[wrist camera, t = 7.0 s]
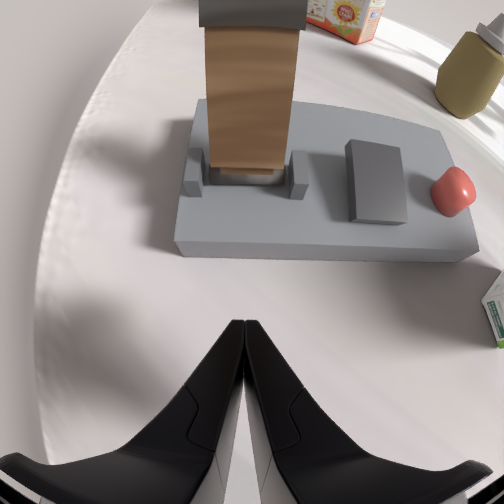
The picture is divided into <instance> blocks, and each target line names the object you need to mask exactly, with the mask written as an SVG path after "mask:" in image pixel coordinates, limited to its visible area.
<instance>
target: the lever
mask: <svg viewBox="0 0 504 504" xmlns="http://www.w3.org/2000/svg"><path fill="white" fill-rule="evenodd" d="M307 6H308V0H199V27H205V69H206V95H207V116H208V135H209V151H210V164H209V172H208V178H209V183H211V184H262V185H284V184H285V175H286V171H285V166H284V163H285V155H286V147H287V139H288V131H289V123H290V115H291V106H292V98H293V89H294V80H295V71H296V61H297V52H298V42H299V32H300V30H305V27H306V17H307Z"/></svg>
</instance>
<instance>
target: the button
mask: <svg viewBox="0 0 504 504" xmlns="http://www.w3.org/2000/svg"><path fill="white" fill-rule="evenodd" d="M430 194H431V198H432V201H433V203H434V205H435V206H436V208H437V209H438V210H439V211H440V212H441V213H442V214H443V215H445V216H447V217H454V216H456V215H457V214H458V213H460V212H461V211H462V210H464V209H465V208H466V207H468V206H469V205H470V204H472V203H473V202H474V201H475V199H476V191H475V187H474V185H473V183H472V181H471V179H470V178H469V177H468V175H467V174H466V173H465V172H464V171H463V170H461V169H460V168H458V167H454V166H452V167H450V168H449V169H448V170H447V171H446V172H445V173H444V174H443V175H442V176H441V177H440V178H439V179H438V180H437V181H436V182H435V183H434V184H433V185H432V186H431V190H430Z"/></svg>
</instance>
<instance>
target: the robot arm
mask: <svg viewBox="0 0 504 504" xmlns="http://www.w3.org/2000/svg"><path fill="white" fill-rule="evenodd" d="M243 380H244V389H245V396H246V404H247V411H248V419H249V426H250V433H251V440H252V447H253V454H254V460H255V467H256V473H257V480H258V486H259V492H260V499H261V504H504V474H503V475H502V476H501V477H499V478H498V479H496V480H495V481H494V482H492V483H491V484H489V485H488V486H486V487H485V488H483V489H482V490H480V491H479V492H477V493H476V494H474V495H473V496H471V497H469V498H468V499H467V497H466V493H465V491H466V490H468V489H469V488H471V487H472V486H474V485H476V484H477V483H479V482H480V481H482V480H483V479H485V478H486V477H488V476H489V475H490V474H492V473H493V471H492V470H491V469H490V468H489V467H488V466H487V465H485V464H483V463H480V462H477V461H474V460H468V461H465V462H463V463H461V464H459V465H458V466H456V467H454V468H451V469H449V470H444V471H429V470H424V469H419V468H415V467H411V466H407V465H403V464H400V463H396V462H393V461H389V460H386V459H383V458H379V457H376V456H374V455H372V454H370V453H368V452H366V451H365V450H363V449H362V448H361V447H360V446H358V445H357V444H356V443H355V442H354V441H353V440H352V439H351V438H350V437H349V436H348V435H347V434H346V433H345V432H344V431H343V430H342V429H341V428H340V427H339V426H338V425H337V424H336V423H335V422H334V421H333V420H332V419H331V418H330V417H329V416H328V415H327V414H326V413H325V412H324V411H323V410H322V409H321V408H320V406H319V405H318V404H317V403H316V401H315V400H314V399H313V398H312V396H311V395H310V394H309V392H308V391H307V389H306V388H304V385H303V384H302V383H301V381H300V380H299V379H298V377H297V376H296V374H295V373H294V372H293V370H292V369H291V367H290V366H289V365H288V363H287V362H286V360H285V359H284V357H283V356H282V355H281V353H280V352H279V350H278V349H277V347H276V346H275V345H274V343H273V342H272V340H271V339H270V337H269V336H268V335H267V333H266V332H265V330H264V329H263V327H262V326H261V324H260V323H259V322H258V321H257V320H246V321H244V320H235V319H234V320H231V322H230V323H229V324H228V326H227V327H226V328H225V330H224V331H223V333H222V334H221V335H220V337H219V338H218V339H217V341H216V342H215V343H214V345H213V346H212V347H211V349H210V350H209V351H208V353H207V354H206V355H205V357H204V358H203V359H202V361H201V362H200V363H199V365H198V366H197V367H196V369H195V370H194V371H193V373H192V374H191V375H190V377H189V378H188V379H187V381H186V382H185V383H184V385H183V386H182V387H181V388H180V390H179V391H178V392H177V394H176V395H175V396H174V397H173V398H172V400H171V401H170V402H169V403H168V404H167V405H166V406H165V408H164V409H163V410H162V411H161V412H160V413H159V414H158V415H157V416H156V417H155V418H154V419H152V420H151V421H150V422H149V423H148V424H147V425H146V426H145V427H144V428H143V429H142V430H141V431H140V432H139V433H138V434H137V435H135V436H134V437H133V438H132V439H131V440H130V441H129V442H128V443H126V444H125V445H124V446H122V447H120V448H119V449H117V450H115V451H112V452H109V453H106V454H102V455H99V456H95V457H91V458H87V459H83V460H79V461H75V462H70V463H66V464H60V465H44V464H40V463H37V462H35V461H33V460H31V459H30V458H28V457H26V456H24V455H22V454H20V453H12V454H9V455H6V456H3V457H1V458H0V470H2V471H3V472H5V473H6V474H7V475H9V476H10V477H12V478H13V479H15V480H16V481H18V482H19V483H21V484H22V485H24V486H25V487H27V488H28V489H30V490H32V491H33V492H35V493H37V494H38V495H40V496H41V499H40V502H39V504H223V503H224V497H225V491H226V486H227V480H228V474H229V468H230V462H231V456H232V450H233V444H234V438H235V432H236V426H237V420H238V414H239V408H240V402H241V396H242V389H243ZM0 504H38V503H36V502H34V501H33V500H31V499H29V498H28V497H26V496H25V495H23V494H21V493H20V492H18V491H17V490H15V489H14V488H13V487H11V486H10V485H8V484H7V483H5V482H4V481H3V480H1V479H0Z"/></svg>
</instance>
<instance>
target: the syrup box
mask: <svg viewBox="0 0 504 504" xmlns="http://www.w3.org/2000/svg"><path fill="white" fill-rule="evenodd" d="M481 302H482V304H483V306H484V307H485V309H486V312H487V315H488V318H489V320H490V323H491V326H492V329H493V331H494V334H495V337H496V340H497V344H498V347H499V348H500V349H501V348H504V270H503V271H502V272H501V274H500V275H499V276H498V278H497V279H496V280H495V282H494V283H493V285H492V286H491V287H490V289H489V290H488V292H487V293H486V294H485V296H484V297H483V298H482V300H481Z"/></svg>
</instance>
